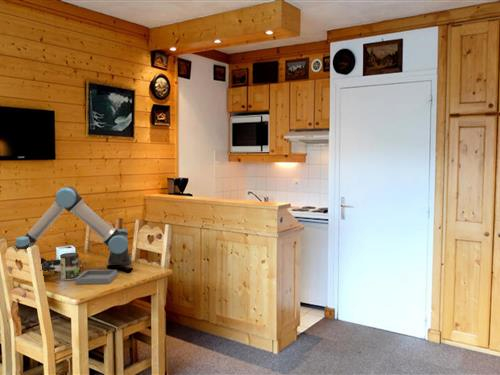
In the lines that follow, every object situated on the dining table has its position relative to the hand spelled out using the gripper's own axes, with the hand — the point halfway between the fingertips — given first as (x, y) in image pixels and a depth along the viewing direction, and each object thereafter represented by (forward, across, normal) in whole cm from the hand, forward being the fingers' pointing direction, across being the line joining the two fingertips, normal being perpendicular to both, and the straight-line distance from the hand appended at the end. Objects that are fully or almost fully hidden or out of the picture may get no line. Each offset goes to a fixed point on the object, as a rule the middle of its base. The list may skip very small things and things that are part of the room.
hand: (67, 265), depth 268 cm
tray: (+18, -1, -7) cm, 20 cm away
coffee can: (+1, 0, -8) cm, 8 cm away
